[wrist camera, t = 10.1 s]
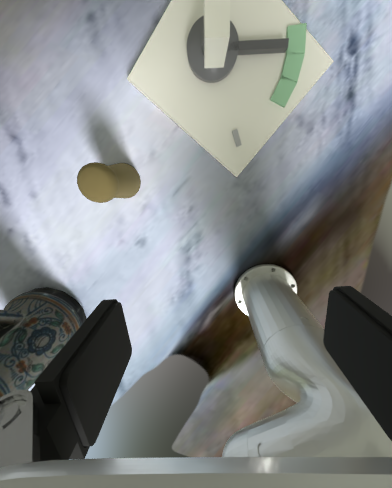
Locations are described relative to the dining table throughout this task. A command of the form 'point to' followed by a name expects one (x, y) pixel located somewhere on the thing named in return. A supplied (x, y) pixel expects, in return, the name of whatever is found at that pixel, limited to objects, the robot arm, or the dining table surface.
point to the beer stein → (34, 335)
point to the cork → (108, 181)
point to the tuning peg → (222, 43)
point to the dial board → (230, 78)
